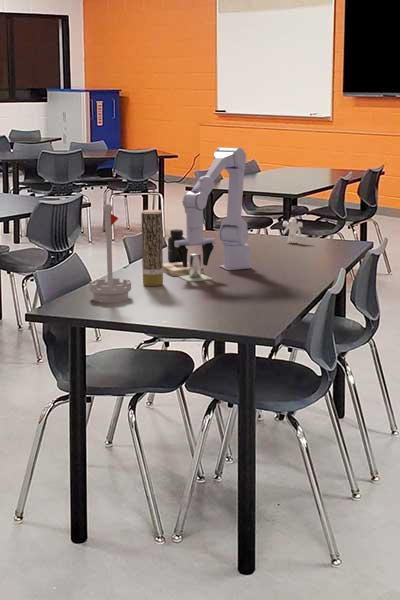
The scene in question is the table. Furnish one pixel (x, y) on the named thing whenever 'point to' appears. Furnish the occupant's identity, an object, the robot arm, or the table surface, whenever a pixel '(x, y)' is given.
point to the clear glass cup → (194, 265)
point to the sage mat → (202, 278)
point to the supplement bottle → (172, 250)
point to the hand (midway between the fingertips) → (195, 266)
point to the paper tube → (152, 247)
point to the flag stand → (110, 271)
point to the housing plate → (177, 269)
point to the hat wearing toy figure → (292, 228)
